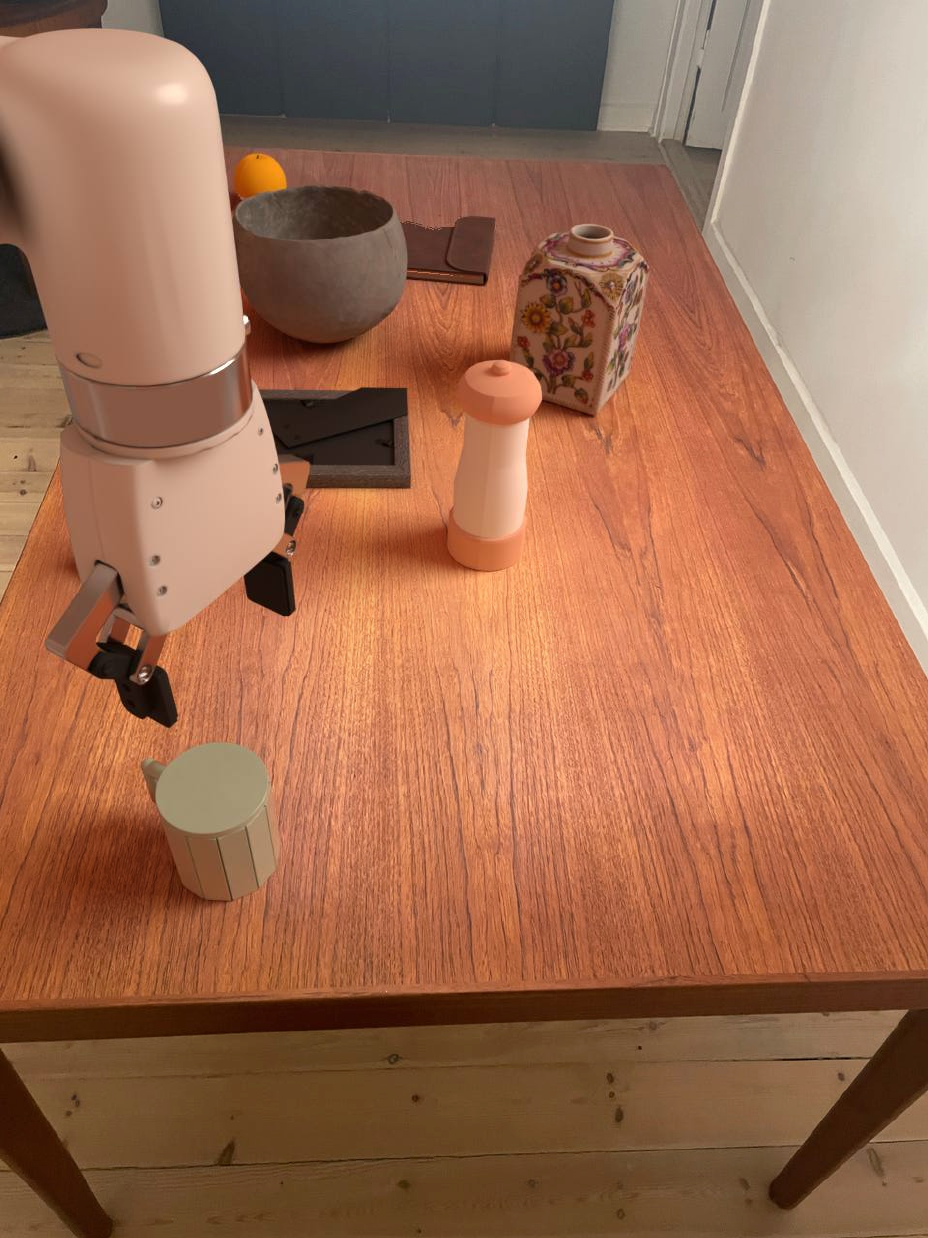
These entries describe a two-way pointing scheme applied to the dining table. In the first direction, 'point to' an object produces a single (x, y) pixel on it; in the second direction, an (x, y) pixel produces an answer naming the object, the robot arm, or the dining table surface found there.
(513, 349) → the decorative jar
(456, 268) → the notebook
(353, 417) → the picture frame
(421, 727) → the dining table surface
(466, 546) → the pepper shaker
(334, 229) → the bowl
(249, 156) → the orange
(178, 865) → the cup
